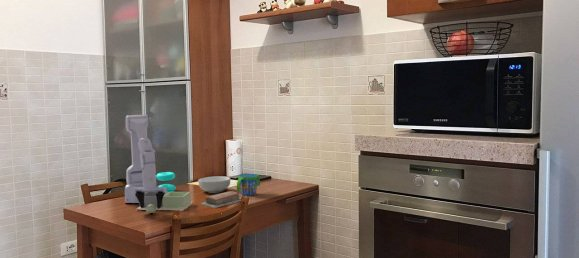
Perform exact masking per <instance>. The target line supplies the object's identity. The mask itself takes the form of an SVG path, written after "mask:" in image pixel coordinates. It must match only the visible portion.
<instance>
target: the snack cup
mask: <svg viewBox="0 0 579 258" xmlns="http://www.w3.org/2000/svg"><path fill="white" fill-rule="evenodd" d="M260 186H261V180H260V176H259V174H258V173H243V174H238V176H237V181H236V190H237V191H239V192H240V194H241V195H242V196H244V195H246V196H247V197H249V196H254V195H255V196H256V194H257V190H258V187H260Z"/></svg>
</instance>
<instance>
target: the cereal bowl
mask: <svg viewBox="0 0 579 258" xmlns="http://www.w3.org/2000/svg"><path fill="white" fill-rule="evenodd" d="M197 182H198V186H199V188H200V189H201V190H202V191H204V192H207V193H209V194H220V193H223V191H225V190H226V189H228V188H230V186H231V178H230V176H229V177H228V176H223V175H221V176H219V175H217V176H215V175H214V176H206V177H202V178H199V179H198V181H197Z"/></svg>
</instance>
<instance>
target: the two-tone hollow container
mask: <svg viewBox="0 0 579 258" xmlns="http://www.w3.org/2000/svg"><path fill="white" fill-rule="evenodd" d="M156 193H158V192H146V193H145V194H144V208H141V206H140V205H139V206H138V207H136V210H137V209H140V210H146V207H147V205H149V204H153V205H155V207H156V210H179V211H178V212H183V210H184V209H185V210H186V209H187V208H189V207H190V206H191V205H193V201H191V200H192V198H191V191H173V192H169V193H168V192H165V194H164V196H163V199H162V202H161V208H159V209H158V208H157V198H156ZM188 206H189V207H188ZM185 210H184V211H185Z"/></svg>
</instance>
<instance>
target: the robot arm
mask: <svg viewBox="0 0 579 258" xmlns="http://www.w3.org/2000/svg"><path fill="white" fill-rule="evenodd" d="M124 120H125V121H124V122H125V130H126V132H127V133H129V135H130V148H131V149H130V150H131V165H129V167H127V168H126V170H125V172H126V174H125V179H126V185H125V187H124V203H125V202H127V203H139V204H138V205H139V207H140V206H141V208H144V194H145V193H147V192H158V193H156V198H157V208H158V209H159V208H161V202H162V199H163V196H164V194H165V192H166V187H158V186H157V178H156V175H157V174H156V173H157V170H156V169H157V168H156V164H157V162H158V157H157V156H158V155H157V152H156V150H155V149H154V148H153V145H152V141H151V140H150V138H148V135H147V129H148V126H149V123H150V122H149V117H148V115H147V114H146V113H145V114H136V115H135V114H134V115H132V114H131V115H128V114H127V115H126V116H125V119H124Z"/></svg>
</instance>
